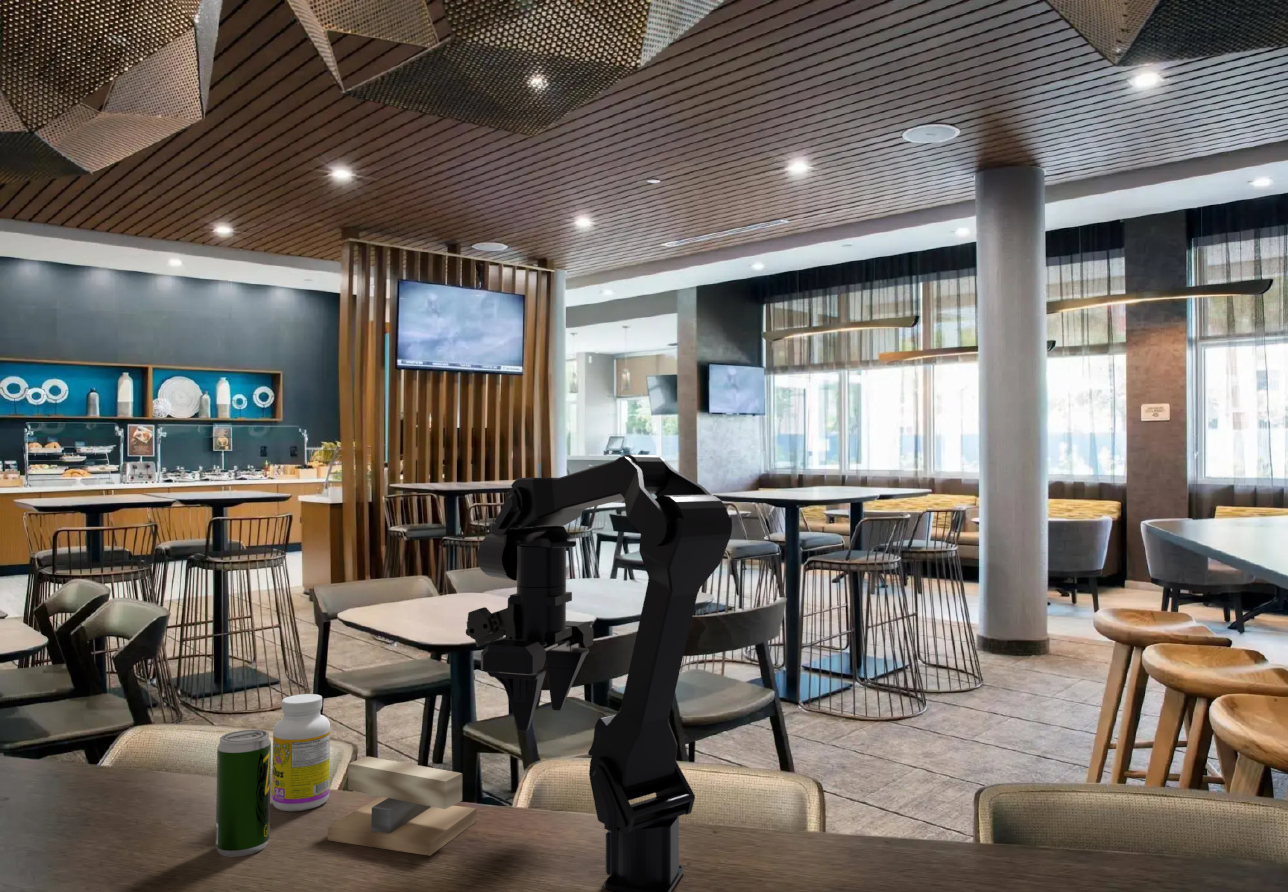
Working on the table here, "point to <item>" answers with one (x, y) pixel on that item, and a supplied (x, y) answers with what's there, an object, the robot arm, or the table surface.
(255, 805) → the beer can
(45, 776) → the table surface
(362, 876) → the table surface
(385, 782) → the rod
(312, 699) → the supplement bottle
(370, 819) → the balance board
